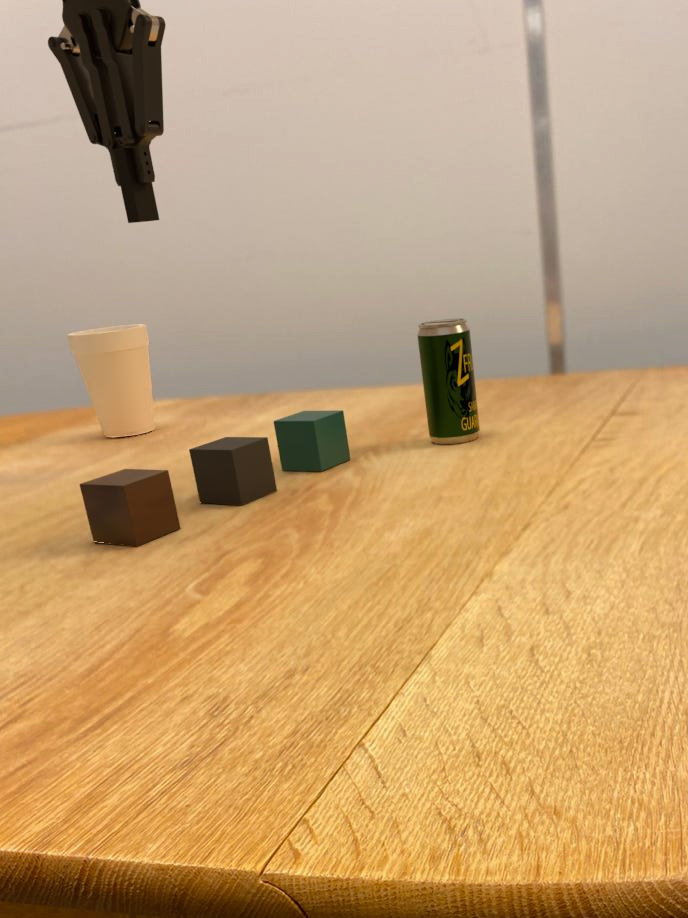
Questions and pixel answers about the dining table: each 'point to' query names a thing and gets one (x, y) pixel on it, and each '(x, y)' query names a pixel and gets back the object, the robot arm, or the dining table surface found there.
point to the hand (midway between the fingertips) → (143, 221)
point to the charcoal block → (233, 470)
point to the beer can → (448, 381)
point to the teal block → (312, 440)
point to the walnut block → (130, 506)
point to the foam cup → (117, 376)
